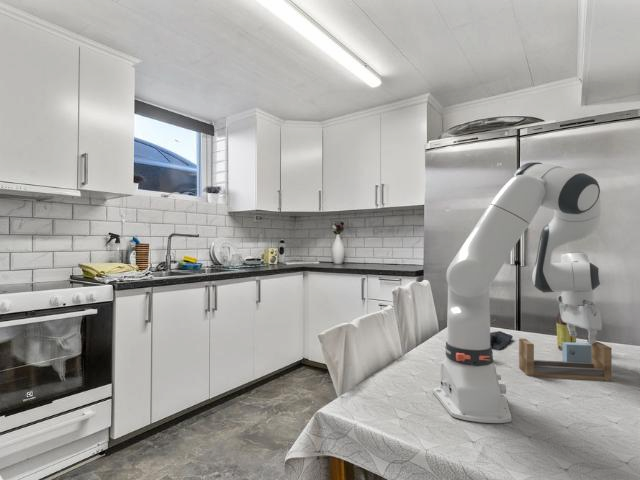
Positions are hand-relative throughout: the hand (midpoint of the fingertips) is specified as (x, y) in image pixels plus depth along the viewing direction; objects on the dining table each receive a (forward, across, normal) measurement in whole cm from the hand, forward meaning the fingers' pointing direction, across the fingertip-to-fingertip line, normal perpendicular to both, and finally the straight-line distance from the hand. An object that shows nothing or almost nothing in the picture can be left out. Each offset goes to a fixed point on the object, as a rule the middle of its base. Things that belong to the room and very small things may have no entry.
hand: (582, 339), depth 123 cm
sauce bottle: (+8, +21, -3) cm, 23 cm away
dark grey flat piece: (+7, +27, +23) cm, 36 cm away
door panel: (+9, 0, +1) cm, 9 cm away
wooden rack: (+9, -8, +10) cm, 16 cm away
